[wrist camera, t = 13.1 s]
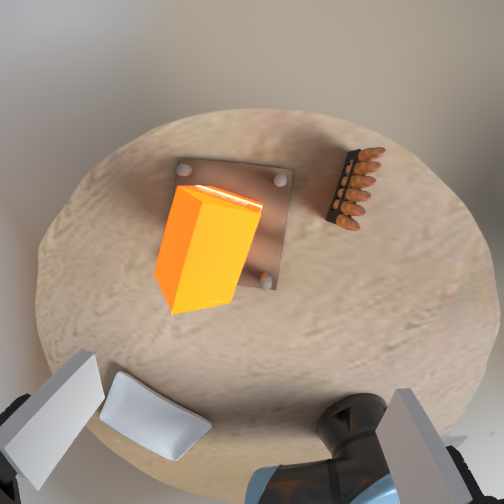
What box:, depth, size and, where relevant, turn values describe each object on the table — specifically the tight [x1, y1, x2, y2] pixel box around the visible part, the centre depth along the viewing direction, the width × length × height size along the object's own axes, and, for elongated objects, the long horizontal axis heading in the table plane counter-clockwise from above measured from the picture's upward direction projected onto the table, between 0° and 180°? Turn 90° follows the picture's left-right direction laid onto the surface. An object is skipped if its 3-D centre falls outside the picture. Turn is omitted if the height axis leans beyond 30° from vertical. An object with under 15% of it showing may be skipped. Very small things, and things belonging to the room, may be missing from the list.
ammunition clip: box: [326, 147, 386, 231], centre depth 32 cm, size 11×2×12 cm, turn 161°
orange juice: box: [154, 185, 263, 314], centre depth 29 cm, size 8×9×20 cm
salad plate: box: [99, 371, 212, 461], centre depth 49 cm, size 21×21×3 cm
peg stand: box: [174, 158, 294, 290], centre depth 38 cm, size 17×16×4 cm
